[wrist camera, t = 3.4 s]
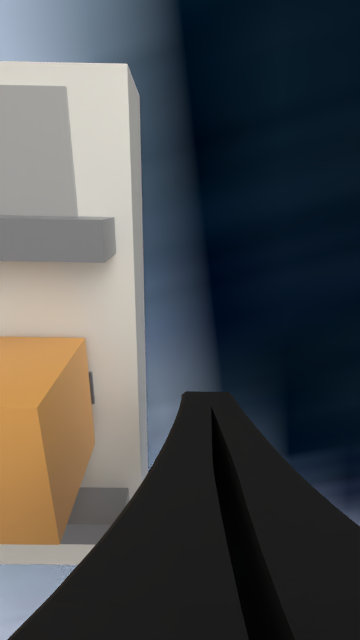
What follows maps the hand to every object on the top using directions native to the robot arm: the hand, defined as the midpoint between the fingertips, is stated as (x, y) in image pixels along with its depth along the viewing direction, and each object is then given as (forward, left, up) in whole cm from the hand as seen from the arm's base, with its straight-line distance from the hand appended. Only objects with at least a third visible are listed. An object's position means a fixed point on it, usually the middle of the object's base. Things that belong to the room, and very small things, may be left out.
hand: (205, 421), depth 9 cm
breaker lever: (0, +5, -1) cm, 5 cm away
